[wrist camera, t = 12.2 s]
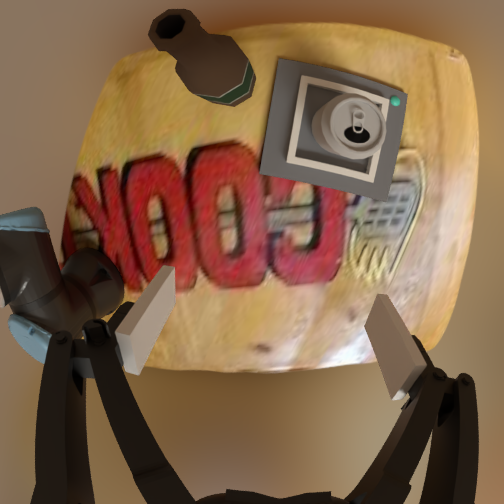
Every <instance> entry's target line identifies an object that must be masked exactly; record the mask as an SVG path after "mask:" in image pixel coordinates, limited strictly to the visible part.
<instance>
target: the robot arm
mask: <svg viewBox="0 0 504 504" xmlns="http://www.w3.org/2000/svg"><path fill="white" fill-rule="evenodd" d="M49 232H50V231H49V230H48V229H47V225H46V222H45V219H44V215H43V213H42V211H41V210H40V209H39V208H37V207H30V208H25V209H21V210H17V211H14V212H10V213H6V214H2V215H0V307H1V308H3V307H5V306H6V305H7V304H9V305H10V307H11V309H12V312H13V314H11V315H10V317H9V319H8V325H9V329H10V331H11V333H12V335H13V336H14V338H15V339H16V341H17V342H18V343H19V344H20V346H21V347H22V348H23V349H24V350H25V351H26V352H27V353H28V354H30V355H31V356H32V357H33V358H35V359H36V360H38V361H39V362H41V363H43V364H44V368H43V374H42V380H41V386H40V394H39V401H38V410H37V421H36V438H35V473H36V485H35V488H34V492H33V495H32V499H31V503H30V504H95V500H94V493H93V487H92V480H91V474H90V466H89V456H88V445H87V430H86V378H95V380H96V383H97V387H98V390H99V394H100V397H101V400H102V403H103V406H104V409H105V411H106V414H107V417H108V419H109V422H110V425H111V427H112V430H113V432H114V435H115V437H116V440H117V442H118V444H119V447H120V449H121V451H122V453H123V455H124V458H125V460H126V462H127V464H128V466H129V468H130V470H131V472H132V474H133V478H134V481H135V483H136V485H137V487H138V489H139V490H140V492H141V494H142V496H143V497H144V499H145V501H146V502H147V504H403V503H404V501H405V500H406V498H407V496H408V494H409V492H410V490H411V485H410V484H409V482H410V480H411V478H412V476H413V474H414V471H415V469H416V467H417V465H418V463H419V461H420V459H421V456H422V454H423V452H424V450H425V447H426V445H427V442H428V440H429V437H430V435H431V432H432V440H431V448H430V454H429V461H428V467H427V472H426V477H425V482H424V486H423V491H422V495H421V499H420V502H419V504H475V503H474V501H475V493H476V485H477V473H478V454H479V434H478V433H479V432H478V412H477V400H476V391H475V383H474V380H473V379H472V377H471V376H470V375H468V374H466V373H461V374H459V376H458V377H457V378H456V379H453V378H448V377H447V375H446V373H445V372H444V371H443V370H442V369H440V368H436V367H434V365H433V363H432V361H431V360H430V358H429V356H428V354H427V353H426V350H425V349H424V348H423V345H422V343H421V342H420V340H419V339H418V338H417V337H416V336H415V335H411V334H410V332H409V331H408V329H407V327H406V325H405V324H404V322H403V320H402V319H401V317H400V315H399V313H398V312H397V310H396V308H395V307H394V305H393V303H392V302H391V300H390V299H389V297H388V295H385V294H377V296H376V299H375V301H374V304H373V307H372V309H371V312H370V314H369V316H368V319H367V321H366V324H365V326H364V327H365V330H366V332H367V334H368V337H369V340H370V342H371V345H372V347H373V350H374V352H375V355H376V358H377V360H378V363H379V366H380V369H381V371H382V374H383V377H384V379H385V382H386V385H387V388H388V391H389V394H390V397H391V400H399V399H403V398H404V397H405V395H406V394H407V393H409V396H410V398H409V399H408V400H407V402H406V403H405V404H404V405H403V407H402V408H401V409H403V410H402V412H401V414H400V416H399V418H398V420H397V422H396V424H395V426H394V428H393V429H392V431H391V433H390V435H389V437H388V438H387V440H386V442H385V443H384V445H383V447H382V449H381V450H380V452H379V453H378V455H377V457H376V458H375V460H374V461H373V463H372V465H371V466H370V467H369V469H368V470H367V472H366V473H365V475H364V476H363V478H362V479H361V480H360V482H359V483H358V485H357V486H356V487H355V489H354V490H353V491H352V492H351V493H350V494H349V495H348V496H347V497H346V498H345V499H344V500H343V499H340V498H337V497H333V496H331V491H329V492H316V493H304V494H300V495H296V496H292V497H288V498H283V499H279V498H274V497H270V496H266V495H263V494H259V493H255V492H249V491H238V490H230V489H227V490H226V493H220V494H214V495H210V496H207V497H204V498H201V499H199V500H198V501H195V500H194V498H193V497H192V496H191V494H190V493H189V492H188V490H187V489H186V487H185V486H184V484H183V483H182V481H181V480H180V478H179V477H178V475H177V474H176V472H175V471H174V469H173V468H172V466H171V465H170V464H169V462H168V461H167V459H166V458H165V456H164V454H163V453H162V451H161V449H160V448H159V446H158V444H157V442H156V440H155V438H154V437H153V435H152V433H151V431H150V429H149V427H148V425H147V423H146V421H145V419H144V417H143V415H142V413H141V411H140V409H139V407H138V405H137V402H136V400H135V398H134V396H133V394H132V391H131V389H130V387H129V384H128V382H127V379H126V377H125V375H124V372H123V370H122V366H123V364H124V368H125V371H126V372H129V373H132V374H136V375H139V374H140V372H141V370H142V368H143V366H144V364H145V362H146V360H147V358H148V356H149V354H150V352H151V350H152V348H153V346H154V344H155V342H156V340H157V338H158V336H159V334H160V332H161V330H162V328H163V326H164V324H165V323H166V321H167V319H168V317H169V315H170V313H171V311H172V309H173V307H174V305H175V303H176V299H175V267H171V266H165V265H163V267H162V268H161V269H160V270H159V272H158V273H157V274H156V276H155V277H154V278H153V280H152V281H151V282H150V284H149V285H148V286H147V288H146V289H145V290H144V292H143V293H142V294H141V296H140V297H139V299H138V300H137V301H136V303H133V302H129V301H127V302H125V303H124V304H122V305H120V304H121V303H122V301H123V298H124V285H123V281H122V278H121V276H120V274H119V272H118V270H117V268H116V267H115V265H114V264H113V263H112V262H111V261H110V260H109V259H108V258H107V257H106V256H105V255H104V254H102V253H101V252H99V251H97V250H95V249H92V248H82V249H79V250H77V251H76V252H75V253H73V254H72V255H71V256H70V257H69V258H68V260H67V261H66V264H65V266H64V267H63V269H62V270H61V271H60V268H59V265H58V262H57V259H56V255H55V252H54V249H53V245H52V242H51V238H50V235H49ZM119 305H120V307H119ZM118 307H119V308H118ZM117 308H118V309H117ZM116 309H117V310H116ZM115 310H116V312H115V313H114V314H113V316H112V317H111V318H110V320H109V321H108V322H107V323H106V321H104V320H102V319H101V318H103V317H104V316H106V315H109V314H111V313H113V312H114V311H115ZM83 336H84V339H81V338H82V337H83ZM432 429H433V431H432Z"/></svg>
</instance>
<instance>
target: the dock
mask: <svg viewBox="0 0 504 504" xmlns="http://www.w3.org/2000/svg"><path fill="white" fill-rule="evenodd" d="M345 93H356V94H359V95H362V96H365V97H367V98H368V99H370V100H371V101H373V102H374V103H375V104H376V105H377V106H378V108H379V109H380V110H381V112H382V114H383V116H384V119H385V122H386V136H385V140H384V142H383V144H382V146H381V148H380V149H379V150H378V151H377V152H376V153H374V154H373V155H372V156H369V157H367V158H364V159H351V158H347V157H344V156H341V155H337V154H334V153H331V152H328V151H327V150H325V149H323V148H322V147H321V146H320V145H319V144H318V143H317V142H316V140H315V138H314V136H313V134H312V126H311V125H312V120H313V117H314V115H315V113H316V112H317V111H318V110H319V109H320V108H321V107H322V106H324V105H325V104H326V103H328V102H329V101H331V100H332V99H333V98H335V97H336V96H339V95H342V94H345ZM407 95H408V94H406V93H404V92H401V91H399V90H396V89H394V88H391V87H388V86H386V85H383V84H380V83H377V82H374V81H371V80H368V79H365V78H362V77H359V76H356V75H352V74H349V73H345V72H342V71H338V70H334V69H330V68H326V67H322V66H318V65H313V64H308V63H303V62H298V61H293V60H287V59H281V58H279V61H278V67H277V73H276V79H275V84H274V90H273V96H272V102H271V108H270V114H269V119H268V125H267V131H266V137H265V143H264V149H263V155H262V161H261V167H260V173H259V174H263V175H269V176H274V177H280V178H285V179H290V180H295V181H300V182H305V183H310V184H314V185H319V186H323V187H328V188H332V189H336V190H341V191H345V192H349V193H353V194H357V195H361V196H365V197H369V198H372V199H376V200H380V201H383V202H386V201H387V197H388V193H389V189H390V185H391V181H392V177H393V173H394V169H395V164H396V159H397V155H398V150H399V145H400V140H401V134H402V129H403V123H404V117H405V110H406V103H407Z"/></svg>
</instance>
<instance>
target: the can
mask: <svg viewBox="0 0 504 504" xmlns="http://www.w3.org/2000/svg"><path fill="white" fill-rule="evenodd" d="M311 126H312V134H313V136H314V138H315V140H316V142H317V143H318V144H319V145H320V146H321V147H322V148H323V149H325V150H327V151H328V152H331V153H334V154H337V155H341V156H344V157H347V158H351V159H364V158H367V157H369V156H372V155H373V154H374V153H376V152H377V151H378V150H379V149H380V148H381V146H382V144H383V142H384V140H385V136H386V122H385V119H384V116H383V114H382V112H381V110H380V109H379V108H378V106H377V105H376V104H375V103H374V102H373V101H371V100H370V99H368V98H367V97H365V96H362V95H359V94H356V93H345V94H342V95H339V96H336V97H335V98H333V99H332V100H331V101H329V102H328V103H326V104H325V105H324V106H322V107H321V108H320V109H319V110H318V111H317V112H316V113H315V115H314V117H313V120H312V125H311Z"/></svg>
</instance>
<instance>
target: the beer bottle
mask: <svg viewBox="0 0 504 504" xmlns="http://www.w3.org/2000/svg"><path fill="white" fill-rule="evenodd" d="M148 36H149V38H150V39H151V41H152V42H153V43H154V45H155V46H156V48H157V49H158V51H167V52H168V53H169V54H170V55H172V56H173V57H174V58H175V59H176V60H177V63H176V67H175V69H176V73H177V74H178V76H179V77H180V78H181V80H182V81H183V83H184V84H185V86H186V87H187V89H188V90H189V91H190V92H192V93H193V94H195V95H197V96H199V97H201V98H203V99H206V100H208V101H210V102H212V103H216V104H222V105H227V106H233V107H235V106H236V105H238V104H240V103H241V102H243V101H245V100H246V99H248V98H250V97H251V96H252V92H253V88H254V85H255V81H256V76H255V74H254V71H253V69H252V66H251V64H250V62H249V59H248V58H247V57H246V55H245V54H244V53H243V51H242V50H241V49H240V48H239V46H238V45H237V44H236V42H235V41H234V40H233V39H232V37H231V36H225V35H215V34H208V33H207V32H206V31H205V30H204V29H203V28H202V27H201V26H200V22H199V20H198V19H197V18H196V17H195V15H193V13H192V12H191V11H189V10H186V9H168V10H167V11H165V12H164V13H162V14H161V15H159V16H158V17H156V18H155V19H154V20H153V22H152V24H151V27H150V30H149V33H148Z"/></svg>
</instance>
